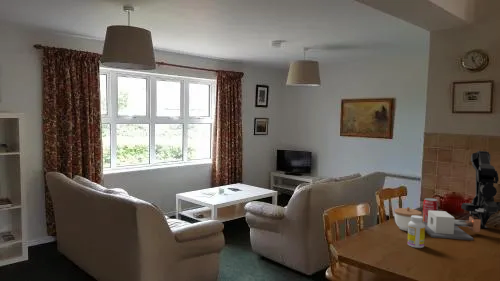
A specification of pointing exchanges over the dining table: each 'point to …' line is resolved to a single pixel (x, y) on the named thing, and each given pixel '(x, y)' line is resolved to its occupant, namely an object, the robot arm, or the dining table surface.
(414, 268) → the dining table surface
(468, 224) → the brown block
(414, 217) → the supplement bottle
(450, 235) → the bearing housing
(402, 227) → the lidded bowl
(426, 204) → the soda can
